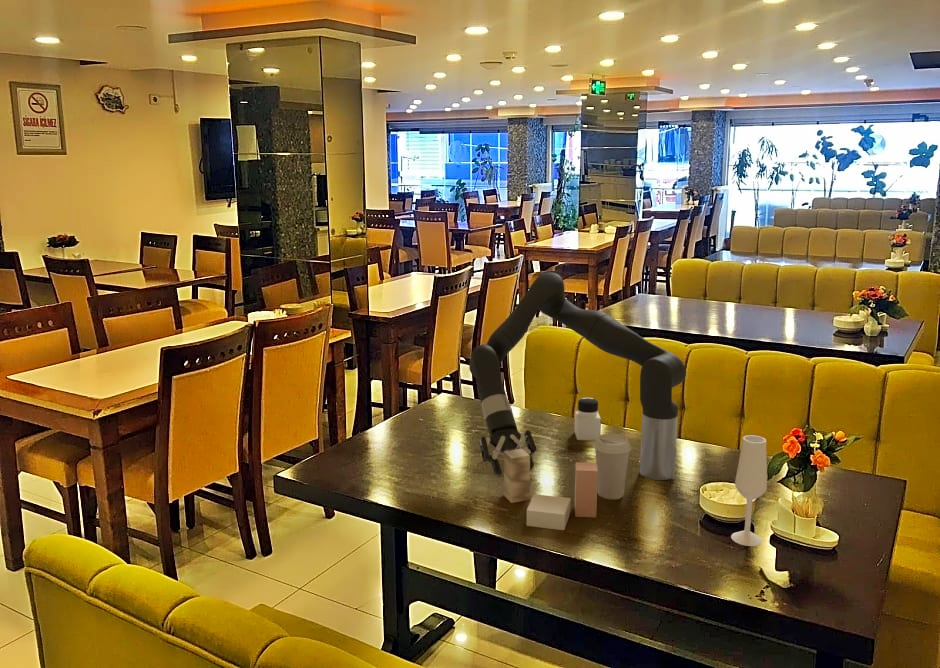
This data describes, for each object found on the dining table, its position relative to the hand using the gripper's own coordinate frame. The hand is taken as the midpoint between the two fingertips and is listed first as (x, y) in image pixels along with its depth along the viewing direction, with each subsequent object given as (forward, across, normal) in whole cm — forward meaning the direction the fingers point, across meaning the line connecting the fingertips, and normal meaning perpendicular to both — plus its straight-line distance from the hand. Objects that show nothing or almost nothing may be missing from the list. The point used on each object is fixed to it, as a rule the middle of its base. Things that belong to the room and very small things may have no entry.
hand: (515, 472), depth 195 cm
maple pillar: (+5, 0, -4) cm, 7 cm away
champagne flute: (+32, -41, +23) cm, 57 cm away
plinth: (+15, -3, +6) cm, 16 cm away
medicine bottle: (-17, -37, -28) cm, 50 cm away
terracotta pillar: (+15, -13, +6) cm, 20 cm away
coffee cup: (+10, -24, 0) cm, 26 cm away
